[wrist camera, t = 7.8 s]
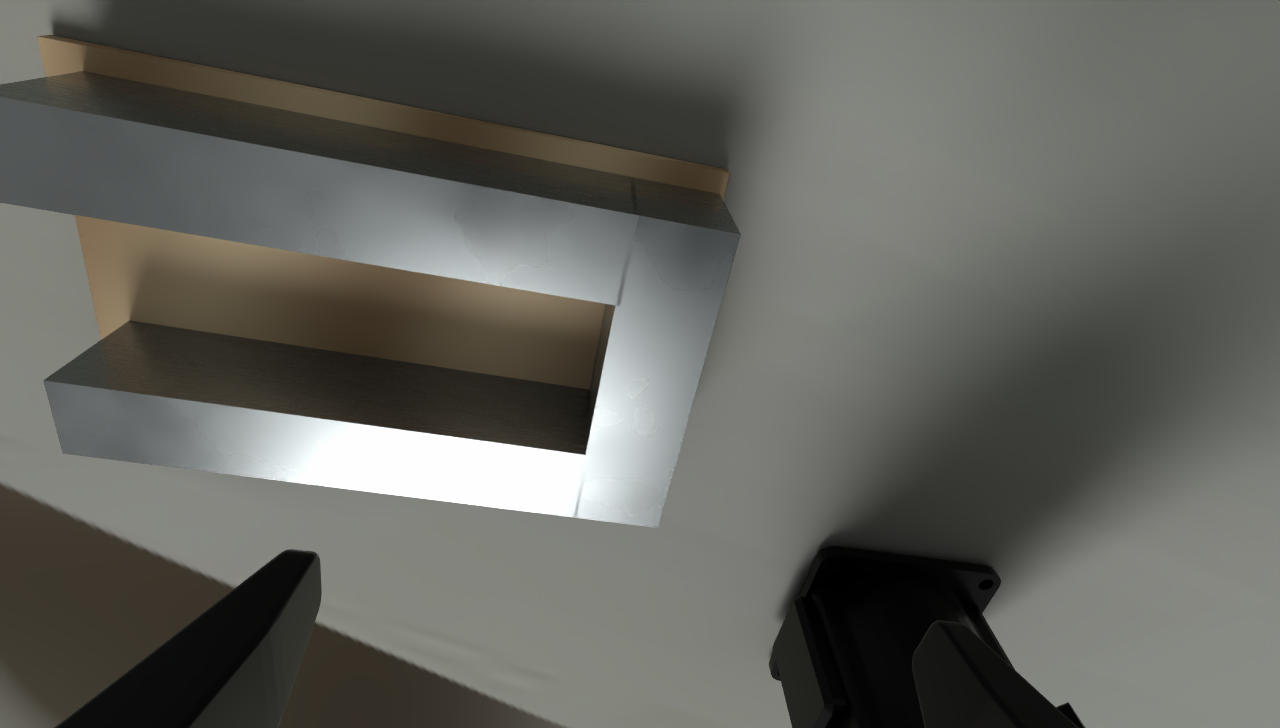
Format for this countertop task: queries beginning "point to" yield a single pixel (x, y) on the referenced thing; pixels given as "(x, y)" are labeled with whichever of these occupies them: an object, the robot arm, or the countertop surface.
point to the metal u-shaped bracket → (390, 237)
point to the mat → (339, 289)
